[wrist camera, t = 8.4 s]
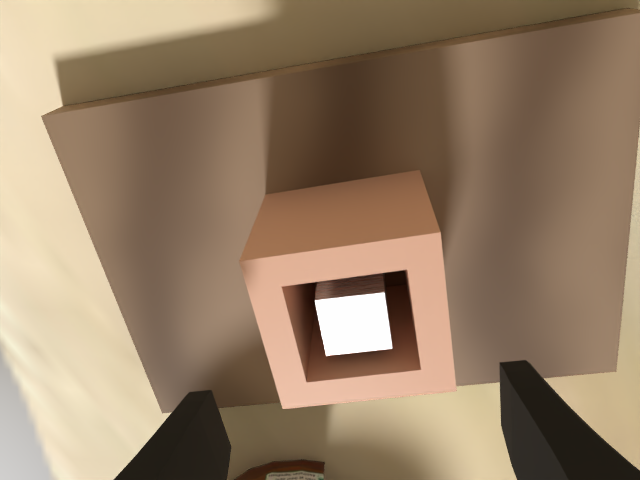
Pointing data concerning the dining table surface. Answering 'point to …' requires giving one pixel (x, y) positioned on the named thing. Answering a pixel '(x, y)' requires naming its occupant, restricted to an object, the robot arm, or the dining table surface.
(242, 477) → the food container
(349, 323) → the post
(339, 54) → the dining table surface
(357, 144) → the board
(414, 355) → the collar
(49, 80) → the dining table surface
